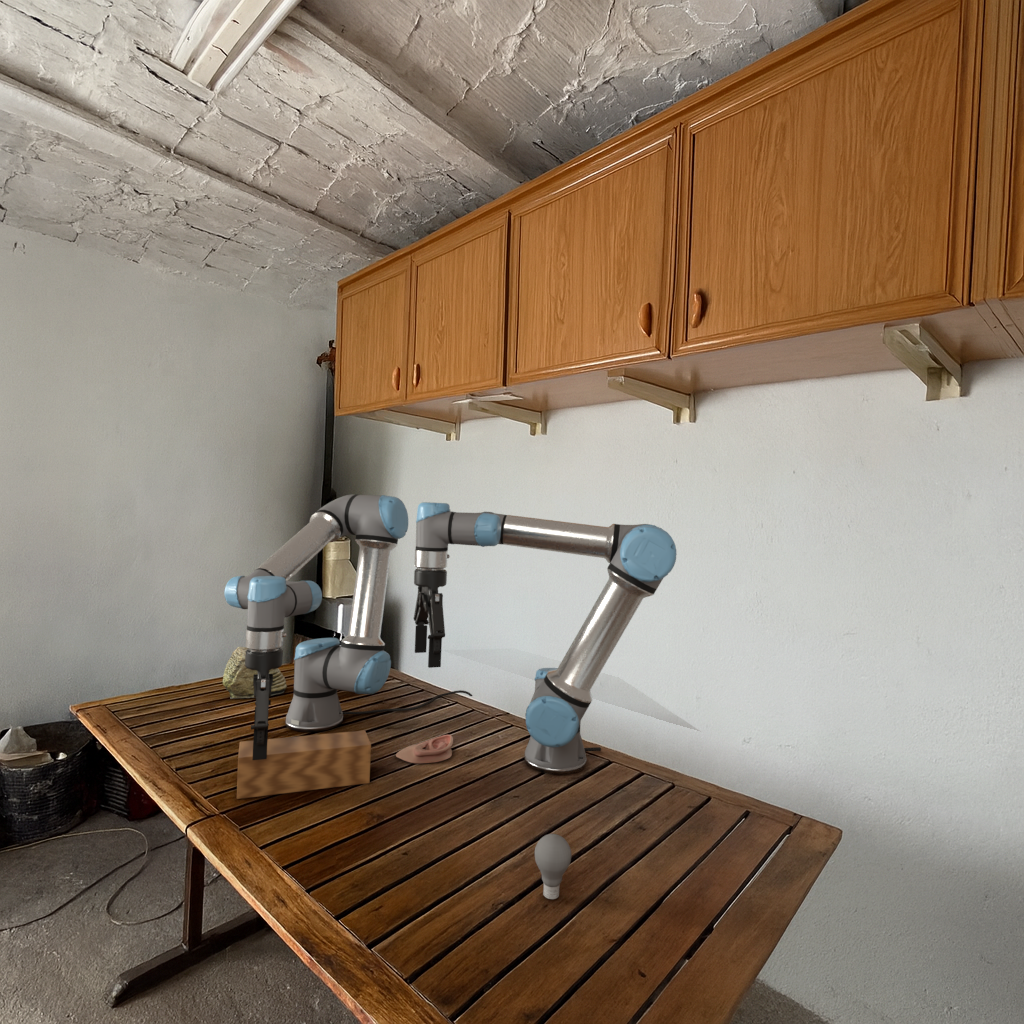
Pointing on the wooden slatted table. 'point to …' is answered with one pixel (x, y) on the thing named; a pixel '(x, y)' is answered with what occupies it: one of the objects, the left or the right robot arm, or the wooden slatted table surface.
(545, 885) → the light bulb
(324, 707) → the left robot arm
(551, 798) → the wooden slatted table surface
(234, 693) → the fossil
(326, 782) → the box
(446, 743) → the anatomical model
